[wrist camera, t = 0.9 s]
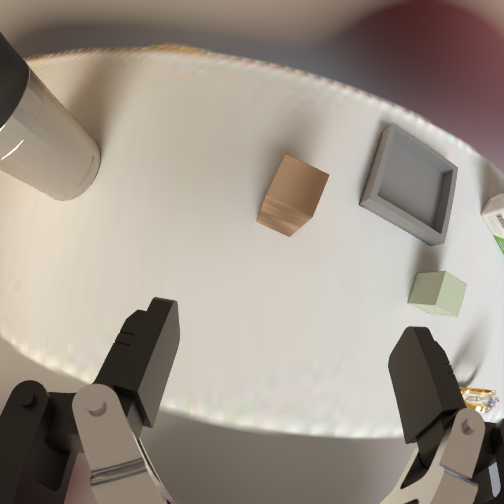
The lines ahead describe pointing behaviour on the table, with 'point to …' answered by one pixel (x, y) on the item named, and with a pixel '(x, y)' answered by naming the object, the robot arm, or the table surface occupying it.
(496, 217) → the ink box
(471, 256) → the table surface
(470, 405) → the ring
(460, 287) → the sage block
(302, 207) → the walnut block
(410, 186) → the desk tray
